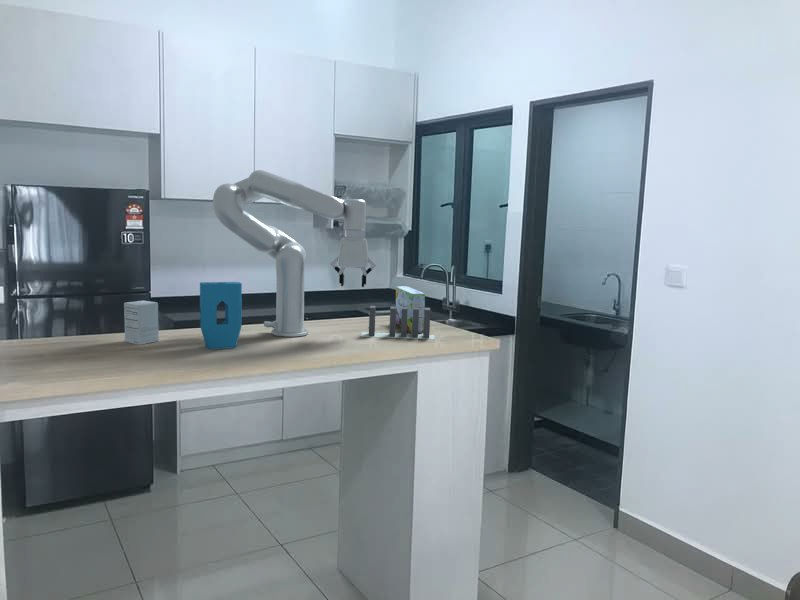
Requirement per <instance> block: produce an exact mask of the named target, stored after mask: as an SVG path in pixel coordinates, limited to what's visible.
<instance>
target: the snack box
mask: <svg viewBox="0 0 800 600" xmlns="http://www.w3.org/2000/svg"><path fill="white" fill-rule="evenodd" d="M425 305H426V293H425V292H422V291H419V290H417V289H415V288H412V287H410V286H408V285H406V286H405V285H404V286H402V285H401V286H399V285H398V286H395V307H396V325H397V326H399V327H401V314H402V307H407V331H408V332H410V333H412V322H413V317H412V314H413V307H419V321H418V333H423V326H424V316H423V315H424V308H426V307H425Z"/></svg>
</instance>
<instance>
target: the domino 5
mask: <svg viewBox="0 0 800 600" xmlns="http://www.w3.org/2000/svg"><path fill="white" fill-rule="evenodd" d="M423 316H424V326H423V332H422V334H423V338H429V335H430V331H431V329H430V328H431V308H430V307H425V308H424V315H423Z"/></svg>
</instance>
